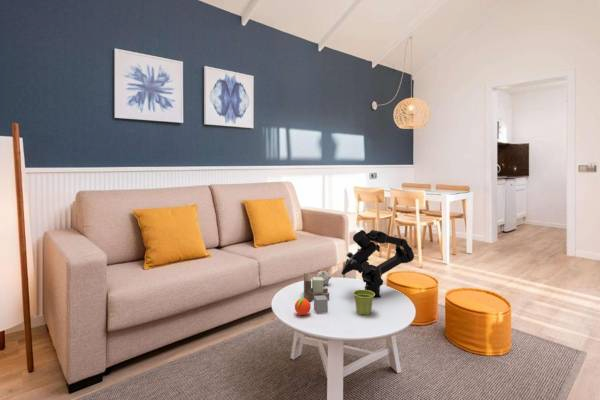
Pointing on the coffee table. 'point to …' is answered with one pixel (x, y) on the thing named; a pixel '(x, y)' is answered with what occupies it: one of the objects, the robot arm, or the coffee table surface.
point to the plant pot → (363, 301)
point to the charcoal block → (320, 304)
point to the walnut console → (308, 289)
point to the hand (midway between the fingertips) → (342, 274)
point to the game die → (324, 276)
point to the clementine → (302, 306)
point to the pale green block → (317, 284)
